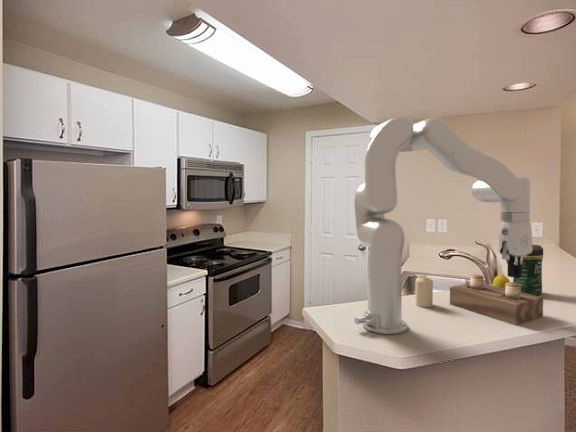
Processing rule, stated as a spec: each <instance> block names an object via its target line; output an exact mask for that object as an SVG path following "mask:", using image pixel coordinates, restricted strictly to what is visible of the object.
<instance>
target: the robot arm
mask: <svg viewBox="0 0 576 432" xmlns="http://www.w3.org/2000/svg"><path fill="white" fill-rule="evenodd" d="M369 142H370V143H369V144H368V146H367V149H366V153H365V157H364V183H362V184H361V185H360V186H359V187H358V188H357V190H356V191H355V195H354V199H353V201H354V203H353V204H354V215H355V218H354V219H355V228H356V229H355V230H356V234H357V238H358V240H359V241H360V242H361V243H362V244H363V245H364V246H367V247H368V248H369V253H368V257H367V267H366V268H367V272H366V273H367V310H365V311H364V314H363V315H362V316H361V315H360V316H356V317H355V318H354V320H353V321H354V323H355V325H359V324H360V325H361V324H362V326H363V328H364V329H366V330H368V331H370V332H372V333H376V334H382V335H397V334H401V333H404V332H405V331H407V329H408V323H407V322H406V321H405V320H404V319H403V318H402V265H403V264H402V261H403V259H402V258H403V253H404V247H405V240H406V239H405V238H406V237H405V232H404V229H403V226H401V224H400V223H398V222H397V221H395V220H394V219H390V218H387V217H385V214H388V213H391V212H393V211H394V210H395V208H396V207H397V205H398V190H397V187H398V185H397V174H396V170H397V169H396V166H397V164H396V163H397V158H398V155H399V153H401V152H402V153H403V152H415V151H422V150H427V151H428V152H429V153H431V154H432V155H433V157H435V158H436V159H437V160H438V161H439V162H440V163H441V164H442V165H443V166H444V167H445V168H446V169H448V170H449V171H452V172H453V173H454V172H455V173H457V174H459V175H460V174H461V175H464V176H468V177H471V178H473V179H476V181H475V182H474V183H473V184H472V186H471V195H472V196H473V197H474V199H476V200H477V201H480V202H483V203H500V215H499V216H500V225H499V235H498V252H499V254H500V255H501V258H502V260H505V261H506V264H507V277H509V278H513V277H514V278H520V277H521V265H520V264H522V262H523V258H524V257H525V256H526V255H527V254H530V253H531V252H532V244H533V232H532V225H531V218H530V217H531V215H530V214H531V210H530V209H531V180H530V179H529V178H528V177H526V176H517V175H516V174H515V173H514V172H513V171H512V170H511V169H509V167H507V166H506V164H504V163H503V162H501V161H499V160H498V159H496V158H494V157H493V156H490V155H488V154H485V153H483V152H482V151H480V150H477V149H474V148H473V147H472V146H471V145H469V143H467V141H466V140H464V138H462V137H461V136H460V135H459V134H458V132H456V131H455V129H453V128H452V127H451V126H450V125H449V124H448V123H447V122H446V121H445V120H443V119H442V118H439V117H437V116H435V117H429V118H426V119H423V120H421V121H418V122H417V121H416V122H415V123H413V121H412V119H410V118H409V117H407V116H402V115H400V116H399V115H398V116H395V117H392V118H390V119H388V120H386V121H384V122H382V123H380V124H378V125H377V126H375V127H374V128H373V130H372V131H371V133H370V136H369Z"/></svg>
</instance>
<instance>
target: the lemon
mask: <svg viewBox="0 0 576 432" xmlns="http://www.w3.org/2000/svg"><path fill="white" fill-rule="evenodd" d="M507 282H510V280H509V278H508V276H505V275H503V274H500V275H497V276H496V277H494V279H493V281H492V286H497V287H501V288H505V283H507Z"/></svg>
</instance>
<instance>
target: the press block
mask: <svg viewBox="0 0 576 432" xmlns="http://www.w3.org/2000/svg"><path fill="white" fill-rule="evenodd" d="M449 305H451V306H454V307H457V308H460V307H461V308H460V309H463V308H464V309H463V310H466V309H467V310H466V311H469V310H470V311H469V312H473V313H476V314H479V315H481V316H486V317H488V318H491V319H495V320H498V321H501V322H504V323H506V324H507V323H508V324H510V325H514V326H517V325H520V324H525V323H527V322H531V321H533V320H536V319H537V320H538V319H539V318H542V317H544V297H542V296H539V295H531V294H527V293H522V292H521V299H519V300H514V299H510V298H506V297H505V288H501V287H497V286H493V284H492V285H491V284H487V283H483V290H475V289H471V288H470V282H469V283H463V284H459V285H453V286H449Z"/></svg>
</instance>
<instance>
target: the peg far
mask: <svg viewBox="0 0 576 432" xmlns="http://www.w3.org/2000/svg"><path fill="white" fill-rule="evenodd" d="M469 279H470V280H469V283H470V288H471V289H475V290H483V283H484V275H480V274H471V275H470V276H469ZM484 284H485V283H484Z"/></svg>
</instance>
